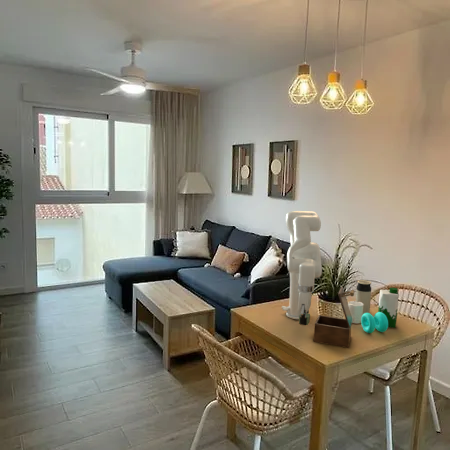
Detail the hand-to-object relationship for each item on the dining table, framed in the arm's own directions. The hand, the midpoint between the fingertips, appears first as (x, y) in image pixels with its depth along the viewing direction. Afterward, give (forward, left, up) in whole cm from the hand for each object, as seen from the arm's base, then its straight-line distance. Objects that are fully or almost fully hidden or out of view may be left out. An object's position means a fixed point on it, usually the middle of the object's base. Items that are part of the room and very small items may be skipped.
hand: (304, 322), depth 193 cm
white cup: (+22, +26, -5) cm, 35 cm away
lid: (+19, -3, +12) cm, 23 cm away
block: (0, 0, 0) cm, 0 cm away
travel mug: (+25, +43, -5) cm, 50 cm away
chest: (+14, -3, -5) cm, 15 cm away
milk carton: (+38, +28, -5) cm, 48 cm away
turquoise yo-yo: (+32, +15, -5) cm, 36 cm away
